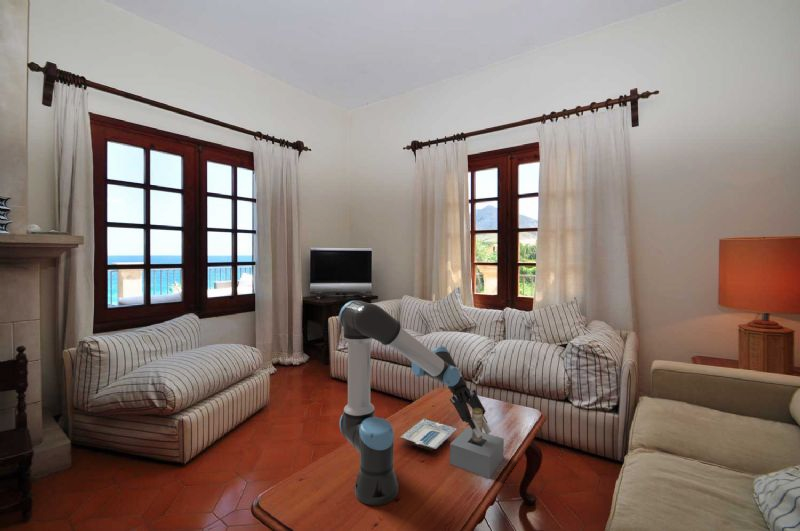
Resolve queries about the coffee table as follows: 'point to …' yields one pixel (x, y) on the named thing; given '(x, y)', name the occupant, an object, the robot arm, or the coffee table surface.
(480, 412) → the peg
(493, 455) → the socket block
